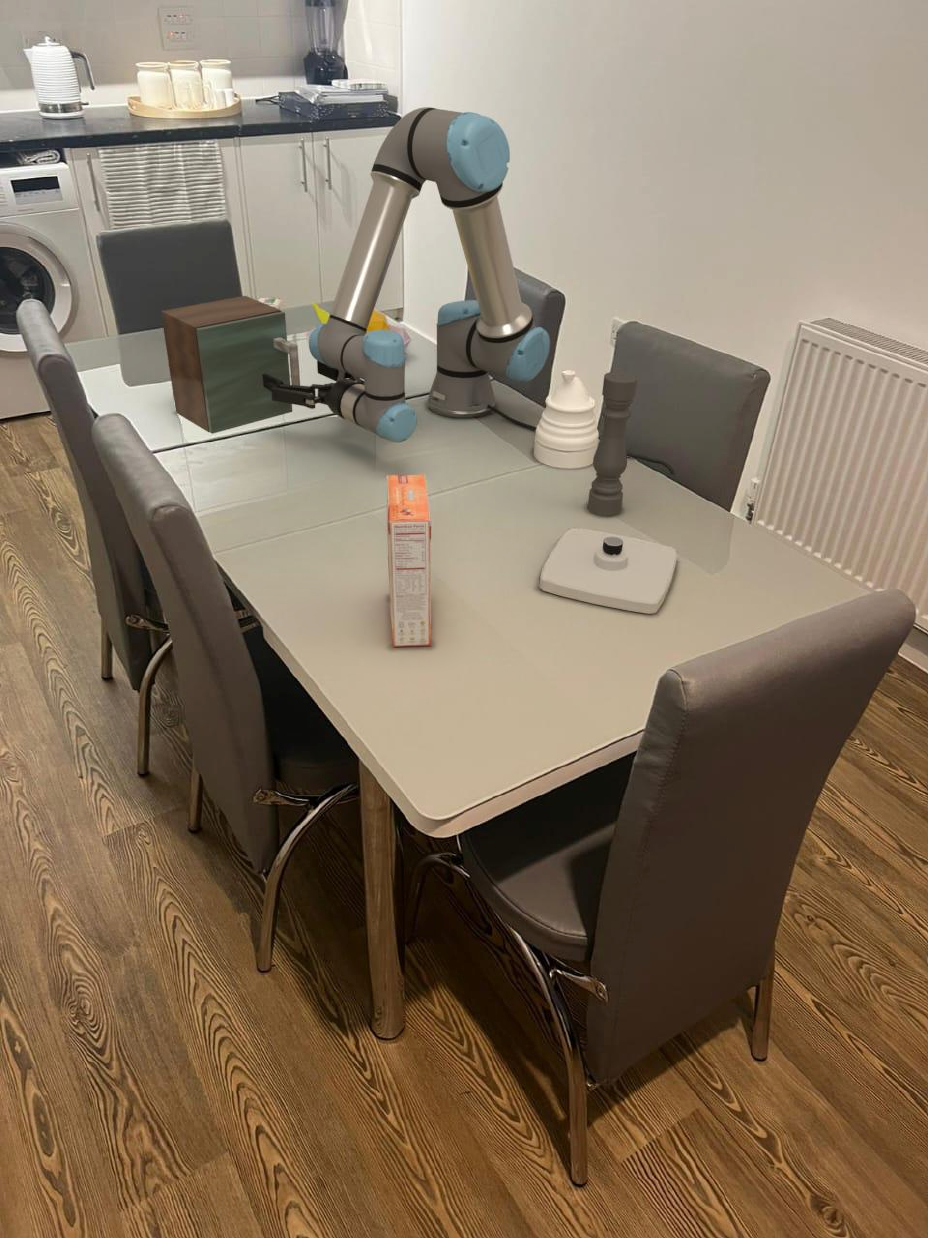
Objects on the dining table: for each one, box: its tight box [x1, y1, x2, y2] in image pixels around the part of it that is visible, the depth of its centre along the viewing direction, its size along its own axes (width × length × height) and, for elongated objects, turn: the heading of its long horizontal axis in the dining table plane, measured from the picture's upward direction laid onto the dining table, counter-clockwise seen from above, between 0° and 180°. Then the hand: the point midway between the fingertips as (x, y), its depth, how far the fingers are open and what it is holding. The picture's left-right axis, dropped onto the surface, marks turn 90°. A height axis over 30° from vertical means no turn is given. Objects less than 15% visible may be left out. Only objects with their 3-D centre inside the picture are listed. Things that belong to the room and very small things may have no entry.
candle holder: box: [587, 370, 638, 518], centre depth 165 cm, size 6×6×25 cm
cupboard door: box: [196, 311, 301, 435], centre depth 193 cm, size 8×20×22 cm, turn 132°
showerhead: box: [539, 527, 678, 615], centre depth 151 cm, size 20×6×20 cm
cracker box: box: [386, 474, 432, 648], centre depth 134 cm, size 14×6×21 cm, turn 5°
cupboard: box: [160, 295, 281, 433], centre depth 200 cm, size 14×20×22 cm
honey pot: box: [533, 369, 600, 470], centre depth 187 cm, size 13×13×18 cm
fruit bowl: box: [304, 302, 413, 352], centre depth 235 cm, size 28×27×11 cm
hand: (292, 373), depth 196 cm, fingers open, 13 cm apart
